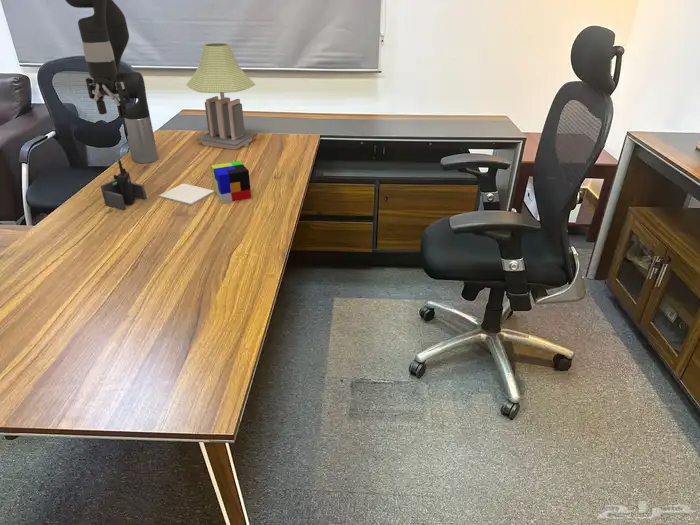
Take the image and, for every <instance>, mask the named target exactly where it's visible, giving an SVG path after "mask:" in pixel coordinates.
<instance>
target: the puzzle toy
mask: <svg viewBox="0 0 700 525" xmlns="http://www.w3.org/2000/svg"><path fill="white" fill-rule="evenodd" d="M210 168H211V174H212V182H213V188H214V190H213V191H215V193H214V194H215V195H216V197H217V198H218V199H219V201H220V203H221V204H226V203H227V204H228V203H233V202H239V201H245V200H249V199H252V193H251V192H252V191H251V183H250V182H251V181H250V179H251V178H250V170H249V169H248V168H247V167H246V166H245V165H244V163H242V162H241V160H238V161H232V162H224V163H218V164H211V165H210Z"/></svg>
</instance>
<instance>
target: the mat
mask: <svg viewBox="0 0 700 525" xmlns="http://www.w3.org/2000/svg"><path fill="white" fill-rule="evenodd" d="M213 194H215V191H214V190H213V189H209V188H205V187H200V186H196V185H193V184H187V183H180V184H179V185H177V186H175V187H173V188H171V189H169V190H167V191H164V192H163V193H161V194H159V195H158V197H159V198H162V199H165V200H169V201H173V202H177V203H181V204H184V205H188V206H193V205H194V204H196V203H198V202H200V201H202V200H204V199H206V198H207V197H209V196H211V195H213Z"/></svg>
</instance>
